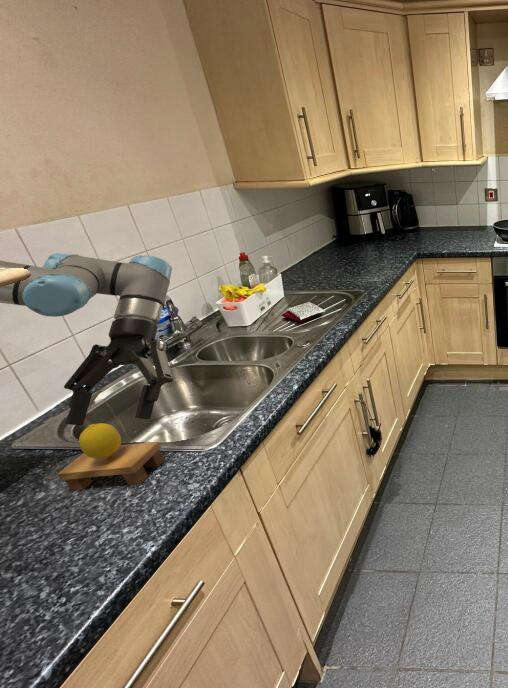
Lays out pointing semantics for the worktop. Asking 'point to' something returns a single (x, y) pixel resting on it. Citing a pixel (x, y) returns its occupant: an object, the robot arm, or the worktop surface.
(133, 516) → the worktop surface
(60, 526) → the worktop surface
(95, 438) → the lemon
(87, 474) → the serving board
